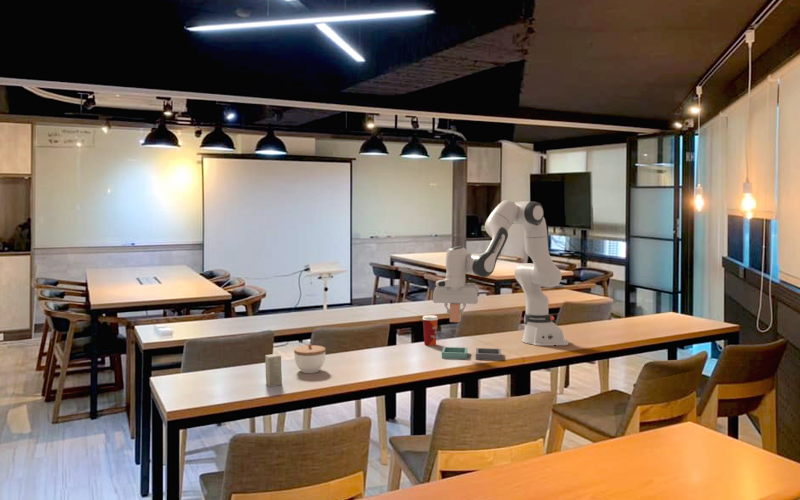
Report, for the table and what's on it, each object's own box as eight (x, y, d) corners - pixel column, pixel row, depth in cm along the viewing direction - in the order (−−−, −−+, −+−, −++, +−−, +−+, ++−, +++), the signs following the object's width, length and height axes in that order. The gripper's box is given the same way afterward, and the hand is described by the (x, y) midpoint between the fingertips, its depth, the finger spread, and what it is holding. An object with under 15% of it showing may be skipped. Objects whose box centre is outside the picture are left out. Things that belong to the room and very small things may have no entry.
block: (460, 320, 262) (460, 302, 261) (459, 322, 257) (460, 304, 256) (450, 320, 262) (450, 302, 262) (449, 322, 257) (449, 304, 257)
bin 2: (500, 354, 263) (500, 348, 263) (501, 360, 252) (501, 354, 252) (476, 353, 265) (476, 347, 265) (475, 359, 254) (475, 353, 254)
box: (278, 381, 220) (278, 353, 219) (282, 384, 216) (281, 355, 215) (265, 383, 217) (264, 354, 217) (268, 386, 214) (267, 357, 213)
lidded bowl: (288, 371, 235) (287, 344, 234) (312, 365, 244) (312, 339, 244) (307, 377, 226) (307, 349, 226) (332, 370, 236) (331, 343, 235)
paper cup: (436, 346, 278) (436, 318, 277) (421, 346, 279) (421, 317, 278) (439, 343, 285) (439, 315, 284) (423, 342, 287) (423, 314, 286)
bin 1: (467, 353, 265) (467, 347, 265) (466, 358, 254) (466, 353, 254) (443, 352, 267) (443, 346, 267) (441, 358, 256) (441, 352, 256)
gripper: (478, 282, 260) (478, 312, 261) (433, 281, 263) (433, 311, 264) (478, 283, 254) (478, 315, 255) (432, 282, 257) (432, 313, 258)
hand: (455, 313), depth 259 cm, fingers closed on block, 4 cm apart
